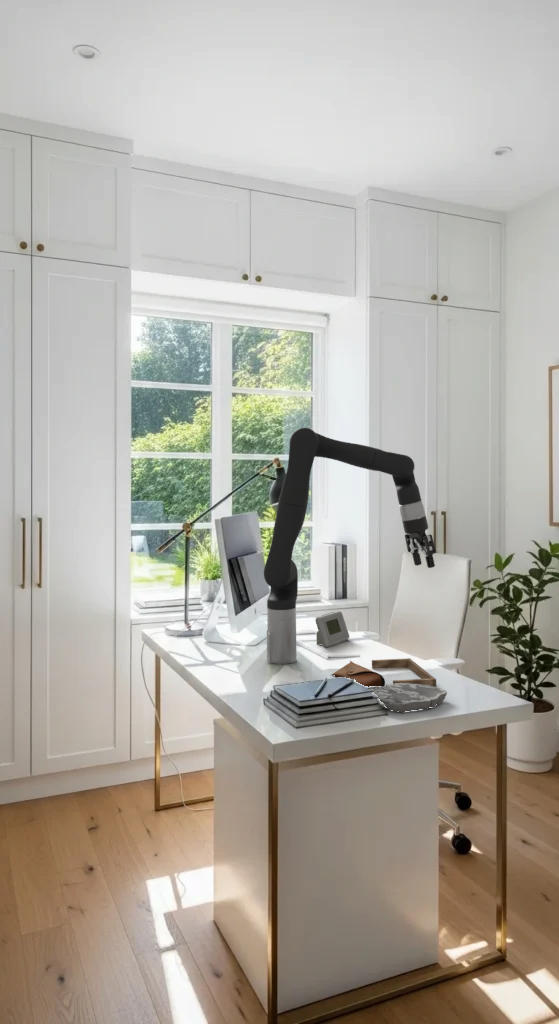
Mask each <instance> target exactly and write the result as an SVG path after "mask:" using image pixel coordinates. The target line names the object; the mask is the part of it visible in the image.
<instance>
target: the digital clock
mask: <svg viewBox="0 0 559 1024" xmlns="http://www.w3.org/2000/svg"><path fill="white" fill-rule="evenodd" d="M314 620H315V624H316V627H317V631H316V645H318V644H322V645H321V646H323V647H325V648H330V647H334V646H336V645H337V646H338V645H340V644H342V643H344V642H346V641H348V640H349V639H350V633H349V630H348V628H347V624H346V621H345V618H344V615H343V612H342V611H341V610H337V611H331V612H328V613H325V614H321V615H320V616H317V617H316V618H315V619H314Z"/></svg>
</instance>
